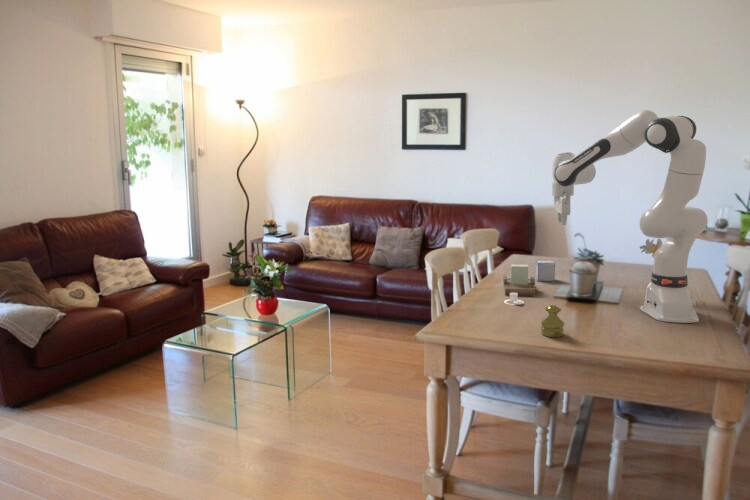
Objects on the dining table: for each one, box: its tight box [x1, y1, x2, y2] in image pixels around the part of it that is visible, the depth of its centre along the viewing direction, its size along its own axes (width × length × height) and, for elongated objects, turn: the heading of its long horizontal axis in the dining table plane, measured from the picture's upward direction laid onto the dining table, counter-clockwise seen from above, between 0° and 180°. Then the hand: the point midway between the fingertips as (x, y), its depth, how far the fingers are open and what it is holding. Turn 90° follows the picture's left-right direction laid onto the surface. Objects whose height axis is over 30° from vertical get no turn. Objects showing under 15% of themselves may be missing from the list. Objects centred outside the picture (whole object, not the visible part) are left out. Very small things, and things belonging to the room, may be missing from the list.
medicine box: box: [535, 260, 556, 282], centre depth 267 cm, size 8×4×9 cm, turn 84°
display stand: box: [502, 275, 536, 297], centre depth 250 cm, size 18×13×6 cm
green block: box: [510, 264, 529, 285], centre depth 249 cm, size 4×7×8 cm, turn 79°
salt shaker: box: [540, 304, 565, 338], centre depth 193 cm, size 7×7×10 cm
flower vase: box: [639, 238, 664, 288], centre depth 234 cm, size 12×18×24 cm
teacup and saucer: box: [503, 293, 525, 306], centre depth 232 cm, size 9×8×4 cm
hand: (562, 223), depth 248 cm, fingers open, 8 cm apart
